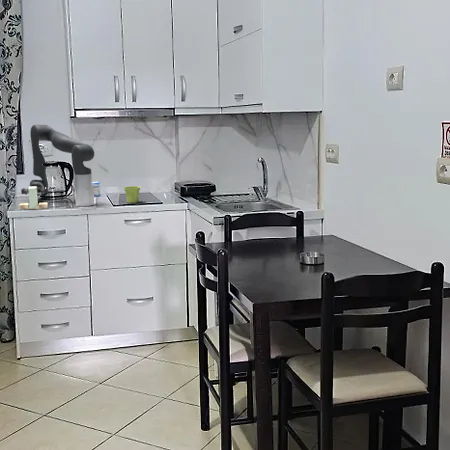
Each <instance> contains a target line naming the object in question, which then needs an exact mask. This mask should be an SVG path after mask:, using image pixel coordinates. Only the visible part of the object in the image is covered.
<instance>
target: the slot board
mask: <svg viewBox="0 0 450 450" xmlns="http://www.w3.org/2000/svg"><path fill="white" fill-rule="evenodd" d="M48 205H49V204H48V202H39V203H38V207H37V209H36V210H44V209H48V207H49V206H48ZM18 209H19V210H20V209H26V210H31V209H30V207H29V202H27V203H26V202H24V203H19V208H18Z"/></svg>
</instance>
